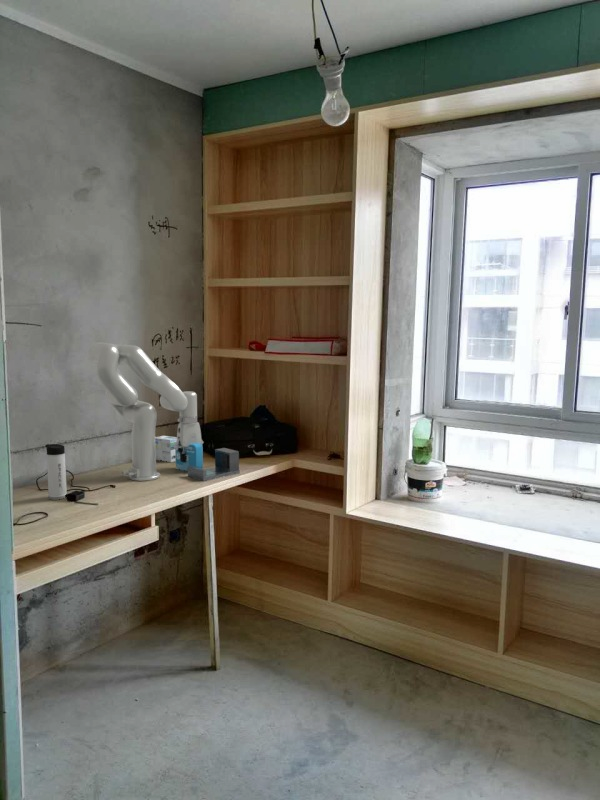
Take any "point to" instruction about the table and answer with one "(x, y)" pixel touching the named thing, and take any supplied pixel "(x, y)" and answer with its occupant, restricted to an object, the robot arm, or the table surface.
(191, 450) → the data package
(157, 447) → the light bulb box
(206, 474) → the grey l-shaped block
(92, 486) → the table surface
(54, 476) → the travel mug
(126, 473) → the robot arm
